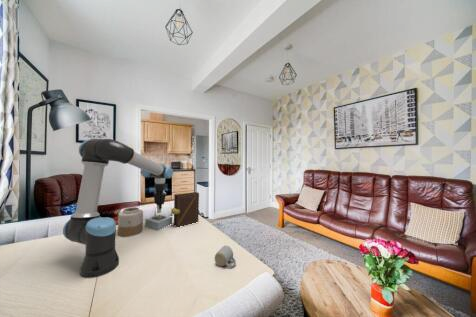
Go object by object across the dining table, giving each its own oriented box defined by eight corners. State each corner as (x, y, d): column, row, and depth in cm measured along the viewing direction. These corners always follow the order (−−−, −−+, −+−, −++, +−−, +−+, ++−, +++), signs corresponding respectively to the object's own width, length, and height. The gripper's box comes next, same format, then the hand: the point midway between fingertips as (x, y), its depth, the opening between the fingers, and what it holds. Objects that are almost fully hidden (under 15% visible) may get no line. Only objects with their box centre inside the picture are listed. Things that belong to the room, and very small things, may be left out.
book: (195, 220, 157) (195, 191, 156) (199, 223, 150) (200, 193, 150) (169, 225, 142) (170, 194, 142) (173, 229, 136) (174, 196, 136)
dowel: (163, 224, 143) (163, 216, 143) (158, 226, 139) (158, 217, 139) (159, 223, 145) (159, 215, 145) (154, 225, 141) (154, 217, 141)
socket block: (172, 224, 145) (172, 216, 145) (158, 230, 133) (158, 221, 133) (159, 221, 151) (159, 213, 151) (145, 227, 139) (145, 218, 139)
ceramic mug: (213, 265, 93) (213, 250, 93) (221, 257, 101) (221, 243, 100) (231, 271, 89) (232, 256, 88) (238, 262, 96) (238, 248, 96)
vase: (121, 228, 134) (122, 206, 134) (144, 227, 139) (144, 205, 138) (114, 237, 119) (115, 213, 119) (139, 235, 124) (140, 211, 124)
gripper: (169, 183, 142) (168, 212, 142) (158, 182, 148) (157, 210, 148) (162, 184, 136) (161, 215, 136) (150, 183, 141) (149, 212, 141)
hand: (158, 212), depth 142 cm, fingers closed
